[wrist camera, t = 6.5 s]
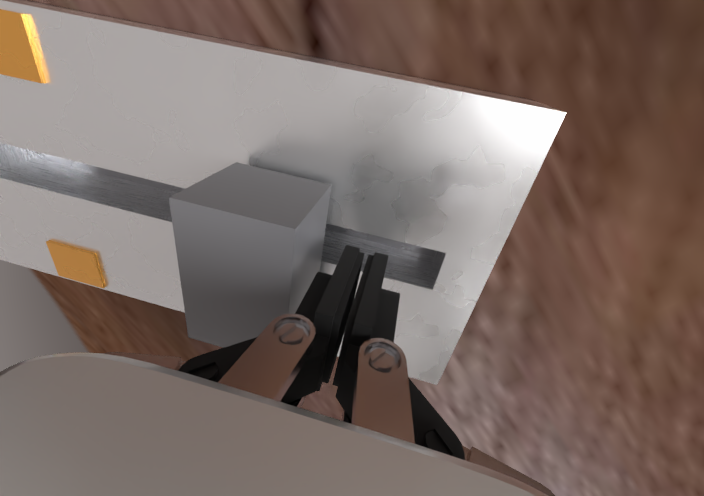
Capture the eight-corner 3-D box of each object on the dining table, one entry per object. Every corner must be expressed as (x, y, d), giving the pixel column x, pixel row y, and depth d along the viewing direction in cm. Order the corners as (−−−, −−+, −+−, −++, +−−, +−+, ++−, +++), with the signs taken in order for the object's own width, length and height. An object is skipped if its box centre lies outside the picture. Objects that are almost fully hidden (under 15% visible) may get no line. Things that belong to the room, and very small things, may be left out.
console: (533, 99, 14) (568, 113, 10) (436, 332, 21) (437, 388, 18) (-31, -12, 17) (-158, -32, 13) (55, 229, 24) (-12, 259, 20)
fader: (349, 163, 16) (295, 229, 9) (332, 265, 19) (284, 365, 13) (269, 144, 16) (168, 197, 10) (266, 248, 19) (188, 337, 13)
